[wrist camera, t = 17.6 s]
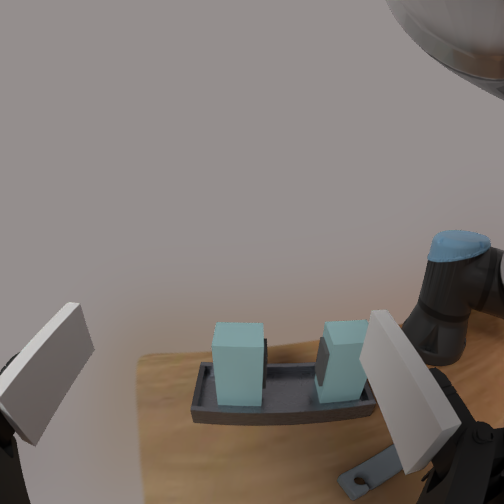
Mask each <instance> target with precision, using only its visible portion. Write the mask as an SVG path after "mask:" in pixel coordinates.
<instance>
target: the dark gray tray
mask: <svg viewBox="0 0 504 504" xmlns="http://www.w3.org/2000/svg"><path fill="white" fill-rule="evenodd" d="M315 365H316V362H312V363H285V364H267V375H266V389H262V404H261V406H232V405H218V401H217V393H216V384H215V375H214V365H213V363H210V362H201V364H200V369H199V373H198V378H197V382H196V387H195V391H194V396H193V401H192V405H191V414H192V418H193V422H194V423H205V424H220V425H252V426H263V425H295V424H310V423H321V422H331V421H340V420H347V419H354V418H361V417H367V416H370V415H371V413H372V411H373V409H374V407H375V405H376V402H375V399H374V397H373V395H372V392H371V390H370V387H369V385H368V383H367V380H366V382H365V385H364V388H363V390H362V393H361V396H360V398H359V399H356V400H348V401H340V402H330V403H320V402H319V398H318V393H317V389H316V384H315V375H316V373H315Z"/></svg>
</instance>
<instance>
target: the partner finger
mask: <svg viewBox="0 0 504 504" xmlns="http://www.w3.org/2000/svg"><path fill="white" fill-rule="evenodd" d="M368 324H369V323H368V322H367V320H354V321H334V322H325V326H324V332H323V337H321V338H320V343H319V349H318V354H317V360H316V365H315V373H316V375H315V384H316V389H317V393H318V398H319V402H320V403H330V402H340V401H348V400H356V399H359V398H360V396H361V393H362V390H363V388H364V385H365V382H366V379H367V376H366V373H365V371H364V369H363V367H362V364H361V362H360V360H359V358H360V354H361V351H362V347H363V343H364V340H365V336H366V332H367V328H368Z"/></svg>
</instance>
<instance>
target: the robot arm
mask: <svg viewBox="0 0 504 504" xmlns="http://www.w3.org/2000/svg"><path fill="white" fill-rule="evenodd" d="M386 1H387V4H388V6H389V8H390V10H391V12H392V14H393V15H394V17H395V19H396V20H397V21H398V23H399V24H400V25H401V27H402V28H403V29H404V30H405V32H406V33H407V34H408V35H409V36H410V37H411V38H412V39H413V40H414V41H415V42H416V43H417V44H418V45H419V46H420V47H421V48H422V49H423V50H424V51H425V52H426V53H428V54H429V55H430V56H431V57H433V58H434V59H435V60H437V61H438V62H439V63H440V64H442V65H443V66H444V67H446V68H447V69H448V70H450V71H452V72H454V73H455V74H457V75H458V76H460V77H461V78H463V79H465V80H467V81H469V82H470V83H472V84H474V85H476V86H478V87H479V88H481V89H483V90H485V91H486V92H488V93H490V94H492V95H494V96H496V97H498V98H500V99H502V100H504V0H386ZM490 246H491V243H490V240H489V238H488V237H487V236H484V235H481V234H478V233H475V232H470V231H461V230H460V231H459V230H449V231H443V232H440V233H438V234H436V235H435V236H434V238H433V241H432V245H431V249H430V253H429V254H428V263H427V267H426V272H425V276H424V280H423V284H422V288H421V291H420V295H419V299H418V303H417V305H416V306H415V308H414V309H413V311H412V312H411V314H410V316H409V317H408V318H407V319H406V321H405V322H404V323H403V325H402V328H400V327H399V325H398V324H397V323H396V321H395V320H394V319H393V317H392V316H391V315H390V314H389V312H388V310H372V311H371V316H370V320H369V324H368V328H367V332H366V336H365V340H364V343H363V347H362V351H361V354H360V358H359V360H360V362H361V364H362V367H363V369H364V371H365V373H366V376H367V378H368V380H369V383H370V385H371V387H372V390H373V392H374V395H375V397H376V399H377V402H378V404H379V407H380V409H381V412H382V414H383V417H384V419H385V422H386V424H387V427H388V429H389V432H390V434H391V437H392V440H393V442H394V445H395V448H396V450H397V453H398V456H399V458H400V461H401V464H402V467H403V469H404V472H405V475H406V474H409V473H412V472H415V471H418V470H421V469H424V468H425V467H426V466H427V464H428V463H429V462H430V461H432V463H433V466H434V467H433V468H432V469H431V470H430V471H429V472H428V473H427V474H426V475H425V476H424V477H423V479H422V480H421V481H425V480H426V479H427V478H428V479H427V481H426V484H425V486H424V488H423V490H422V493H421V495H420V497H419V499H418V501H417V504H504V428H497V429H493V428H492V427H491V426H490V425H489V424H487V423H485V422H479V421H477V422H476V421H475V420H474V418H473V417H472V415H471V413H470V412H469V410H468V409H467V407H466V405H465V404H464V402H463V401H462V399H461V398H460V396H459V395H458V394H457V393H456V392H457V391H456V390H455V388H454V387H453V386H451V385H452V384H451V382H450V381H449V379H448V378H447V377H446V375H445V374H444V373H442V372H441V371H440V370H438V369H437V368H436V367H435V368H431V369H428V368H427V366H426V365H425V363H426V364H429V365H434V366H446V365H450V364H453V363H455V362H456V361H458V360H459V358H460V357H461V355H462V353H463V351H464V348H465V345H466V338H465V337H466V333H467V324H468V318H469V315H470V313H471V310H472V309H474V310H477V311H481V312H484V313H487V314H490V315H493V316H496V317H499V318H502V319H504V251H503V250H500V249H497V248H493V247H490ZM94 350H95V349H94V346H93V343H92V340H91V337H90V334H89V331H88V328H87V325H86V322H85V319H84V315H83V312H82V308H81V305H80V303H71V302H68V303H67V304H66V305H65V306H64V307H63V308H62V309H61V310H60V311H59V312H58V313H57V314H56V315H55V316H54V317H53V318H52V319H51V320H50V321H49V322H48V323H47V324H46V325H45V326H44V327H43V328H42V329H41V330H40V331H39V332H38V333H37V334H36V336H35V337H34V338H33V339H32V340H31V341H30V342H29V343H28V344H27V345H26V346H25V348H24V349H23V350H22V351H21V352H19V353H18V354H16V355H15V356H13V357H12V358H11V359H10V360H9V361H8V362H7V364H6V366H4V367H3V368H2V370H1V372H0V504H31V503H30V500H29V497H28V493H27V490H26V486H25V482H24V478H23V474H22V469H21V464H20V459H19V454H18V448H17V442H16V439H15V437H14V436H13V434H14V433H15V431H16V433H17V434H18V435H19V436H20V437H21V439H22V440H23V441H25V442H27V443H29V444H31V445H33V446H36V445H37V443H38V441H39V440H40V438H41V436H42V434H43V432H44V431H45V429H46V427H47V425H48V424H49V422H50V420H51V418H52V417H53V415H54V413H55V412H56V410H57V408H58V406H59V405H60V403H61V402H62V400H63V398H64V397H65V395H66V393H67V392H68V390H69V389H70V387H71V385H72V384H73V382H74V381H75V379H76V378H77V376H78V374H79V373H80V371H81V370H82V368H83V367H84V365H85V364H86V362H87V361H88V359H89V357H90V356H91V355H92V353H93V352H94Z"/></svg>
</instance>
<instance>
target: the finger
mask: <svg viewBox="0 0 504 504" xmlns="http://www.w3.org/2000/svg"><path fill="white" fill-rule="evenodd" d="M212 355H213V365H214V375H215V384H216V393H217V401H218V405H232V406H261V404H262V389H266V375H267V339H264V336H263V323H228V322H227V323H226V322H217V323H216V327H215V332H214V337H213V342H212Z"/></svg>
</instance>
